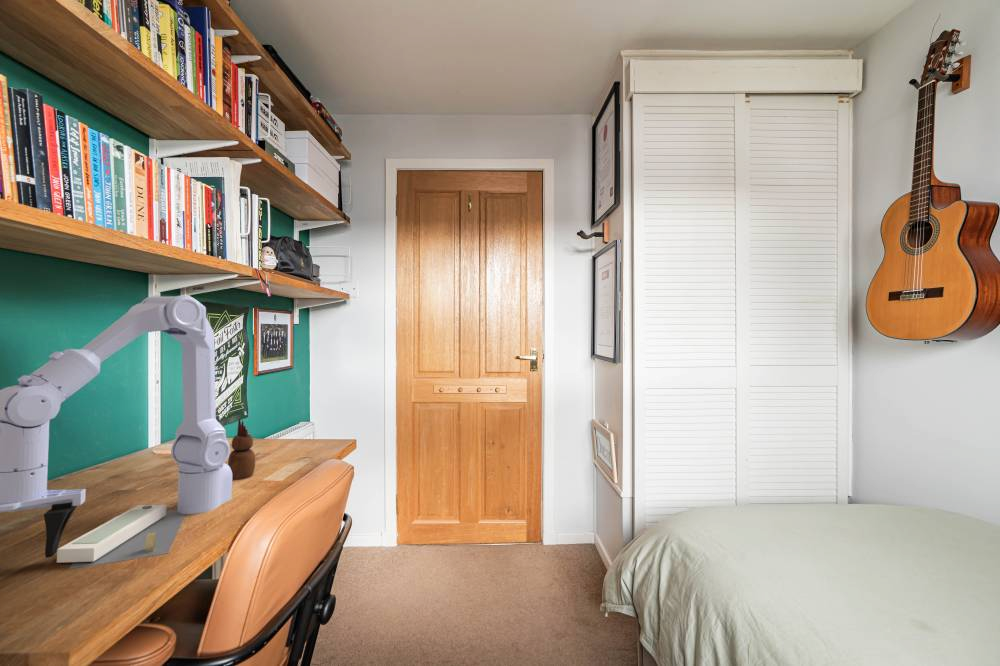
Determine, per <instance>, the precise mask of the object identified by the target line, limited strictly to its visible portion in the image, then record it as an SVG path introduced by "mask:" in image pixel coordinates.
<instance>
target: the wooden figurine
mask: <svg viewBox="0 0 1000 666" xmlns="http://www.w3.org/2000/svg"><path fill="white" fill-rule="evenodd" d="M253 444H254V437H253V436H252V434H249V430H248V429H247V426H246V425H244V421H242V420H241V418H238V423H237V433H236V435H234V436H233V438H232V440H231V448H232V449H233V450H232V451H230V454H229V457H228V459H227V465H228V466H229V467H230V468H231V471H232V480H244V479H249V478H251V477H253V475H254V472H255V469H256V467H255V466H256V457H255V452H254V451H253V450H252V449H251V448H252V447H253Z"/></svg>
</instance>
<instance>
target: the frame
mask: <svg viewBox="0 0 1000 666" xmlns="http://www.w3.org/2000/svg"><path fill="white" fill-rule="evenodd" d="M166 511H167V504H137V505H135V506H134V507H131V508H130V509H128V510H126V511H124V512H122V513H121V514H119V515H117V516H114V517H115V518H113V519H112V520H110V519H109V520H110V521H109V520H108V521H106V522H104V523H103V524H100V525H99V526H97V527H96V528H93V529H91V530H89V531H87V532H86V533H84V534H82V535H80V536H79V537H76V538H75V539H73V540H71V541H70V542H68V543H66V544H64V545H63V546H61V547H58V549H57V552H56V563H58V564H59V563H60V564H61V563H74V562H93V561H95V560H97V559H98V558H100V557H101V556H103V555H104V554H106V553H108V552H109V551H111V550H112V549H114V548H115V547H117V546H119V545H120V544H122V543H123V542H125V541H126V540H128V539H129V538H131V537H133V536H134V535H136V534H137V533H139V532H140V531H142V530H143V529H145V528H147V527H148V526H150V525H151V524H153V523H154V522H156V521H158V520H159V519H161V518H162V517H164V516H165V515H166Z"/></svg>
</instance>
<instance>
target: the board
mask: <svg viewBox="0 0 1000 666" xmlns="http://www.w3.org/2000/svg"><path fill="white" fill-rule="evenodd" d="M186 515H187V514H182V513H179V512H178V511H177V508H176V509H169V510H166V515H165V516H164V517H162V518H161V519H159V520H158V521H156V522H154V523H153V524H151V525H150V526H148V527H147V528H145V529H143V530H142V531H140V532H139V533H137V534H136V535H134V536H133V537H131V538H129V539H128V540H126V541H125V542H123V543H122V544H120V545H119V546H117V547H115V548H114V549H112V550H111V551H109V552H108V553H106V554H104V555H103V556H101V557H100V558H98V559H97V560H95V561H93V562H72V564H71V565H70V567H69V568H68V570H72V569H73V570H74V569H79V568H85V567H92V566H99V565H104V564H111V563H117V562H125V561H129V560H130V561H131V560H136V559H137V560H138V559H142V558H149V557H155V556H156V557H157V556H162V555H168V554H169V552H170V550H171V548H172V545H173V543H174V541H175V540H176V536H177V534H178V533H179V529H180V528H181V525H182V523H183V521H184V520H185V516H186ZM115 517H116V516H112V517H110V519H109V520H108V521H110V520H112V519H113V518H115Z"/></svg>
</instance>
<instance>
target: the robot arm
mask: <svg viewBox="0 0 1000 666" xmlns="http://www.w3.org/2000/svg"><path fill="white" fill-rule="evenodd" d="M152 332H162V333H165V334H167V335H168V336H170V337H172V338H173V339H175V340H176V341H177V342H178V343H180V344H181V360H182V361H181V362H182V366H181V367H182V369H181V370H182V373H181V374H182V415H183V421H182V422H181V424H179V426H178V427H177V428H176V430H175V438H174V442H173V443H172V445H171V449H170V453H171V457H172V459H173V460H174V461H175V462H176V463H177V468H178V479H177V481H178V482H177V506H176V507H177V508H176V509H177V511H178V512H179V513H182V514H186V515H197V514H198V515H199V514H202V513H207V512H210V511H213V510H216V509H218V508H219V507H220V506H221V505H223V504H225V503H227V502H229V501H231V500H232V495H233V493H232V492H233V479H232V471H231V468H230V467H229V466H228V463H226V462H227V461H228V460H229V456H230V454H231V445H230V442H229V441H228V439H227V435H226V433H227V431H226V429H225V428H224V426H223V425H222V424H221V423H220V422H219V420H217V418H216V416H217V415H216V410H217V409H216V408H217V407H216V362H215V361H216V360H215V359H216V358H215V356H216V355H215V354H216V353H215V332H214V330H213V328H212V326H211V324H210V322H209V320H208V318H207V307H206V306H205V305H203V304H202V303H201V302H200V301H198V300H197V299H195V298H194V297H192V296H190V295H186V294H185V295H176V296H175V295H174V296H173V295H172V296H170V295H169V296H159V295H152V296H148V297H146V298H144V299H143V300H142V301H141V302H140V303H137V304H135V305H132V306H131V307H130V308H129V310H128V311H127V312H126V313H125V314H123V315H122V316H121V317H119V318H118V319H117V320H116V321H115V322H113V323H111V325H109V326H108V327H107V328H106V329H105V330H103V331H101V332H100V333H99V334H98V335H97V336H96V337H94V338H93V339H92V340H91V341H89V342H87V344H85V345H84V346H83V347H82V348H80V349H78V348H76V349H75V348H67V349H65V350H63V351H54V352H53V353H51V354H50V355H49V356H48V358H49V359H50V360H49V361H48V362H46V363H44V364H43V365H42V366H40V367H39V368H38V369H36V370H34V371H33V372H32V373H30V374H29V375H27V374H24V375H21V376H20V377H19V378H17V382H18V384H19V385H12V386H6V387H4V388H2V389H0V513H8V512H16V511H17V512H18V511H25V510H26V511H27V510H34V509H35V510H37V509H42V508H44V509H46V508H50V509H49V510H47V511H46V512H45V513H44V514H43V518H44V523H45V524H44V525H45V533H46V535H45V536H46V539H45V546H44V547H45V549H44V554H45V556H44V557H45V558H51V557H53V556H54V555H56V554H57V549H59V545H60V541H61V538H62V536H63V533H64V532H65V528H66V526H67V524H68V522H69V520H70V519H71V517H72V515H73V513H74V512H75V510H76V508H77V507H78V506H81V505H82V504H83V503H85V501H86V492H87V489H86V488H82V489H80V488H79V489H77V488H76V489H48V471H49V469H48V466H49V447H50V446H49V444H50V442H49V441H50V420H52V419H55V418H56V417H57V415H58V414H59V412H60V410H61V404H62V403H63V402H65V401H66V400H68V399H69V398H70V397H71V396H72V395H73V394H75V393H76V392H78V391H79V390H80V389H81V388H83V387H84V386H85V385H87V384H88V383H90V381H92V380H93V379H94V378H96V376H99V374H100V372H101V364H102V362H104V361H105V360H107V359H108V358H110V356H112V355H114V354H116V352H117V353H118V352H119V350H121V349H122V348H124V347H126V346H127V345H128V344H130V343H131V342H133V341H134V340H136V339H137V338H138V337H140V336H141V335H143V334H145V333H152Z"/></svg>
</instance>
